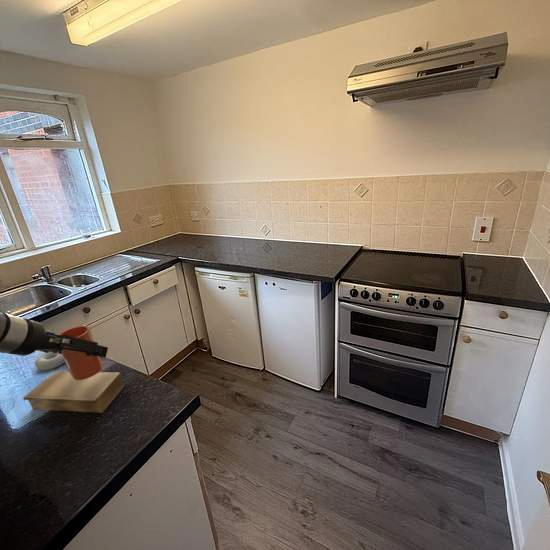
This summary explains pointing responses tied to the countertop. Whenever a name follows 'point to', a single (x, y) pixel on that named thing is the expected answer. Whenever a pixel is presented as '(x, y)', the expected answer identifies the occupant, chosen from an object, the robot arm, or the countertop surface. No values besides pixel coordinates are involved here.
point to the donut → (49, 361)
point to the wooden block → (76, 392)
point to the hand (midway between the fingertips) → (92, 352)
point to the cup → (81, 356)
